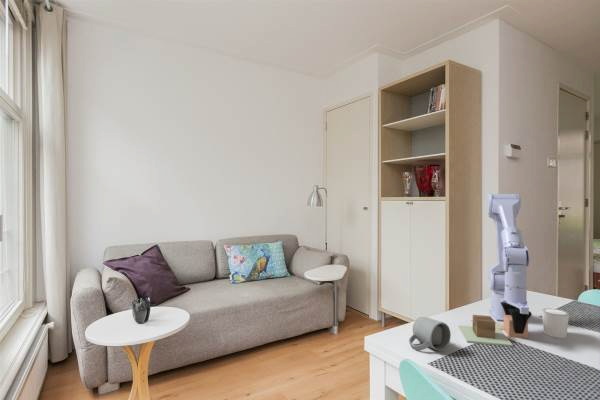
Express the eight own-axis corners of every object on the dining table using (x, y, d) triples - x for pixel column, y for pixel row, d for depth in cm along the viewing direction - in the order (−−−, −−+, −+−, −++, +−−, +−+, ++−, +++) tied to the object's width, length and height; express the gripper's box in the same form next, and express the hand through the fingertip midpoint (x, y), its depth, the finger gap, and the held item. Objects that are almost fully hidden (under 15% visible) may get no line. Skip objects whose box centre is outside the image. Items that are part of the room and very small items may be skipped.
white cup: (558, 339, 99) (558, 316, 99) (536, 331, 106) (536, 309, 106) (575, 337, 101) (575, 314, 101) (552, 328, 108) (552, 307, 108)
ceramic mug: (429, 337, 101) (428, 312, 101) (451, 347, 94) (451, 320, 94) (402, 344, 97) (401, 318, 97) (423, 356, 90) (423, 328, 89)
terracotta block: (503, 330, 106) (503, 314, 106) (521, 331, 105) (521, 316, 105) (509, 336, 102) (509, 320, 102) (527, 338, 100) (527, 321, 100)
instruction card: (471, 320, 115) (471, 319, 115) (500, 323, 113) (500, 322, 113) (475, 327, 109) (475, 326, 109) (506, 329, 107) (506, 328, 107)
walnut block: (472, 330, 105) (472, 314, 105) (490, 331, 104) (490, 316, 104) (476, 336, 100) (476, 320, 100) (495, 338, 99) (495, 321, 99)
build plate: (458, 326, 109) (458, 325, 109) (498, 330, 106) (498, 328, 106) (467, 342, 98) (467, 340, 98) (513, 346, 95) (513, 344, 95)
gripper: (493, 279, 111) (493, 320, 111) (509, 291, 97) (509, 337, 97) (517, 280, 110) (517, 321, 110) (537, 293, 96) (537, 340, 96)
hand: (515, 329), depth 103 cm, fingers closed on terracotta block, 5 cm apart
